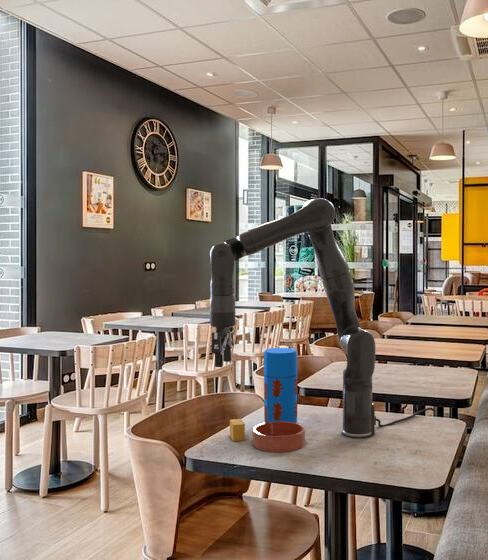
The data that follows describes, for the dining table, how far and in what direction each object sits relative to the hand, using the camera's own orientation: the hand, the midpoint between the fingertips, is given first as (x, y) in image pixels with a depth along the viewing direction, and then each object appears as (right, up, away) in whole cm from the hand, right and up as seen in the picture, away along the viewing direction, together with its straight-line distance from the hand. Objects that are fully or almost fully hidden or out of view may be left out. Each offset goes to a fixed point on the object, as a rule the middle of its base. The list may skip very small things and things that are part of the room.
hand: (223, 364), depth 179 cm
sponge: (+3, -24, +6) cm, 25 cm away
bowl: (+17, -24, +1) cm, 29 cm away
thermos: (+17, -23, +19) cm, 34 cm away
